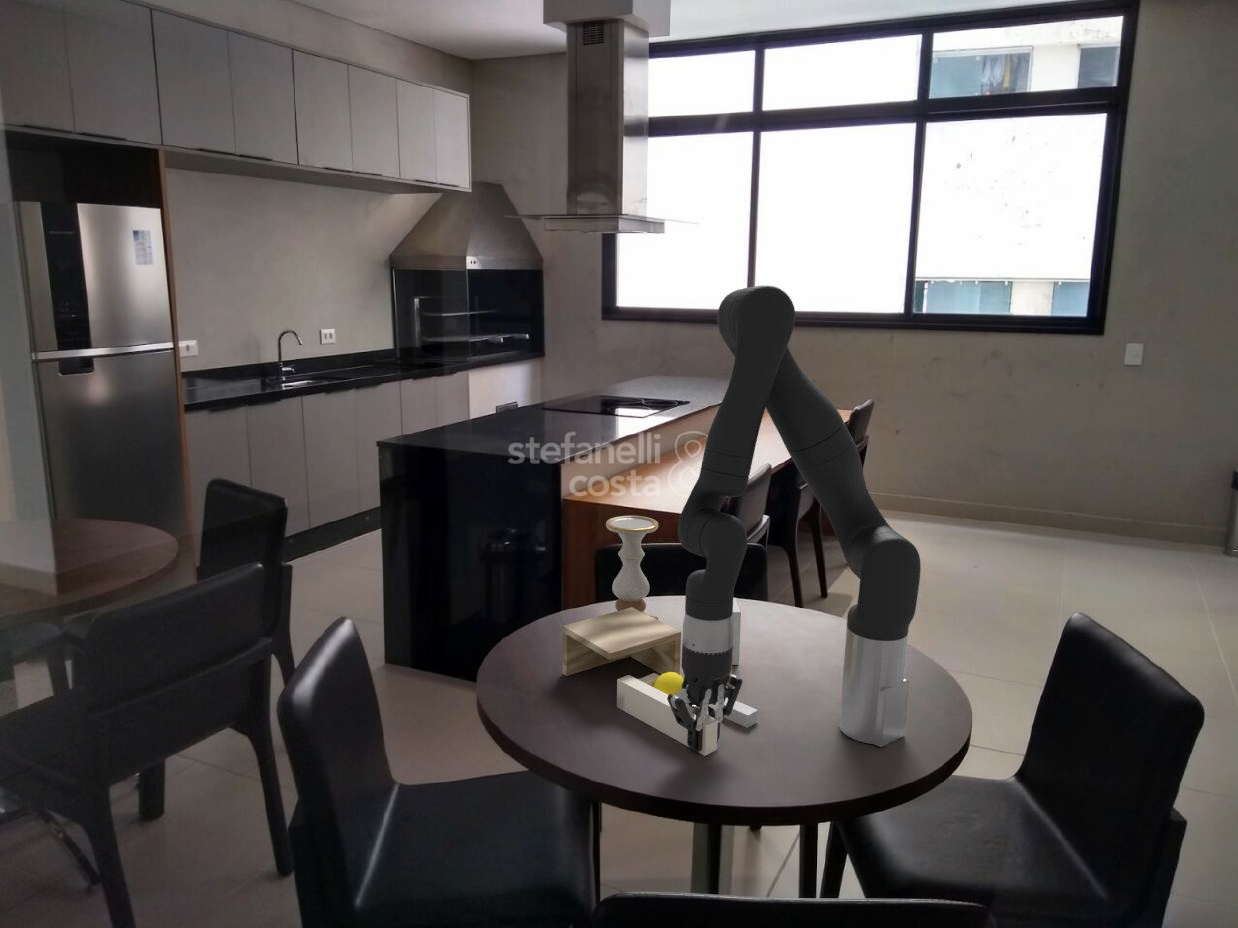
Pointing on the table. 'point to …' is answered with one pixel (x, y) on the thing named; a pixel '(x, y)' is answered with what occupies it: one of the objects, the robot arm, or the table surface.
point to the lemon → (669, 683)
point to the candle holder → (631, 561)
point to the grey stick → (742, 714)
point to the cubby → (621, 642)
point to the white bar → (660, 710)
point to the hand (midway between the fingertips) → (703, 745)
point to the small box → (736, 632)
